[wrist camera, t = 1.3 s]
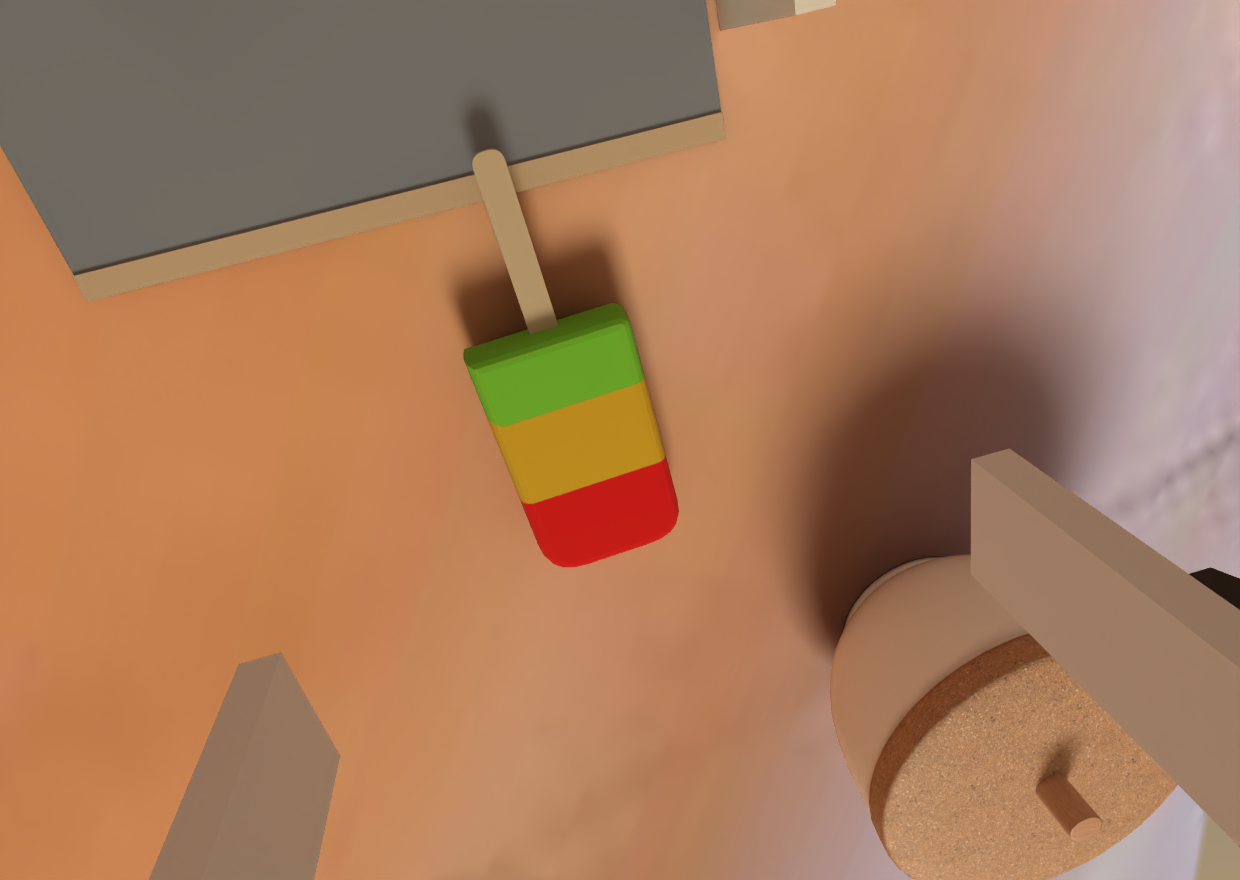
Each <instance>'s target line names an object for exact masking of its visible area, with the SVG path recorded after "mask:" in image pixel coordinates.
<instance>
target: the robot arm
mask: <svg viewBox="0 0 1240 880" xmlns="http://www.w3.org/2000/svg"><path fill="white" fill-rule="evenodd" d="M971 575H972V576H973V577H974V578H975V579H976V580H977V581H978V582H979V583H980V584H981V585H982V586H983V587H984V588H985V589H986V590H987V591H988V592H989V593H990V594H991V595H992V596H993V597H994V598H995V599H996V600H997V601H998V602H999V603H1000V604H1001V605H1002V606H1003V607H1004V608H1005V609H1006V610H1007V611H1008V612H1009V613H1010V614H1011V615H1012V616H1013V617H1014V619H1015V620H1016V621H1017V622H1018V623H1019V624H1020V625H1021V626H1022V627H1023V628H1024V629H1025V630H1026V631H1027V632H1028V633H1029V634H1030V635H1031V636H1032V637H1033V638H1034V639H1035V640H1036V641H1037V642H1038V643H1039V644H1040V645H1041V646H1042V647H1043V648H1044V649H1045V650H1046V651H1047V652H1048V653H1049V654H1050V655H1051V656H1052V657H1053V658H1054V659H1055V660H1056V661H1057V662H1058V663H1059V664H1060V665H1061V666H1062V667H1063V668H1064V669H1065V670H1066V671H1067V672H1068V673H1069V674H1070V675H1071V676H1072V677H1073V678H1074V679H1075V680H1076V681H1077V682H1078V683H1079V684H1080V686H1081V687H1082V688H1083V689H1084V690H1085V691H1086V692H1087V693H1088V694H1089V695H1090V696H1091V697H1092V698H1093V699H1094V700H1095V701H1096V702H1097V703H1098V704H1099V705H1100V706H1101V707H1102V708H1103V709H1104V710H1105V711H1106V712H1107V713H1108V714H1109V715H1110V716H1111V717H1112V718H1113V719H1114V720H1115V721H1116V722H1117V723H1118V724H1119V725H1120V726H1121V727H1122V728H1123V729H1124V730H1125V731H1126V732H1127V733H1128V734H1129V735H1130V736H1131V737H1132V738H1133V739H1134V740H1135V741H1136V742H1137V743H1138V744H1139V745H1140V746H1141V747H1142V748H1143V749H1144V750H1145V752H1146V753H1147V754H1148V755H1149V756H1150V757H1151V758H1152V759H1153V760H1154V761H1155V762H1156V763H1157V764H1158V765H1159V766H1160V767H1161V768H1162V769H1163V770H1164V771H1165V772H1166V773H1167V774H1168V775H1169V776H1170V777H1171V778H1172V779H1173V780H1174V781H1175V782H1176V783H1177V784H1178V785H1179V786H1180V787H1181V788H1182V789H1183V790H1184V791H1185V792H1186V793H1187V794H1188V795H1189V796H1190V797H1191V798H1192V799H1193V800H1194V801H1195V802H1196V803H1197V804H1198V805H1199V806H1200V807H1201V808H1202V809H1203V810H1204V811H1205V812H1206V813H1207V814H1208V815H1209V816H1210V817H1211V818H1212V819H1213V821H1214V822H1215V823H1216V824H1217V825H1218V826H1219V827H1220V828H1221V829H1222V830H1223V831H1225V833H1227V835H1228V836H1229V837H1230V838H1231V839H1232V840H1233V841H1234V842H1235V843H1236V844H1238V846H1239V847H1240V579H1239V578H1237V577H1234V576H1232V575H1229V574H1226V573H1224V572H1221V571H1218V570H1216V569H1213V568H1207V569H1204V570H1201V571H1197V572H1194V573H1190V574H1188V573H1186V572H1185V571H1183V570H1182V569H1181V568H1179V567H1178V566H1176V565H1175V564H1173V563H1172V562H1171V561H1169V560H1168V559H1166V558H1165V557H1163V556H1162V555H1161V554H1159V553H1158V552H1156V551H1155V550H1154V549H1152V548H1151V547H1149V546H1148V545H1146V544H1145V543H1144V542H1142V541H1141V540H1139V539H1138V538H1136V537H1135V536H1134V535H1132V534H1131V533H1129V532H1128V531H1126V530H1125V529H1124V528H1122V527H1121V526H1119V525H1118V524H1116V523H1115V522H1114V521H1112V520H1111V519H1109V518H1108V517H1106V516H1105V515H1104V514H1102V513H1101V512H1099V511H1098V510H1096V509H1095V508H1094V507H1092V506H1091V505H1089V504H1088V503H1087V502H1085V501H1084V500H1082V499H1081V498H1079V497H1078V496H1077V495H1075V494H1074V493H1072V492H1071V491H1069V490H1068V489H1067V488H1065V487H1064V486H1062V485H1061V484H1059V483H1058V482H1057V481H1055V480H1054V479H1052V478H1051V477H1049V476H1048V475H1047V474H1045V473H1044V472H1042V471H1041V470H1039V469H1038V468H1037V467H1035V466H1034V465H1032V464H1031V463H1030V462H1028V461H1027V460H1025V459H1024V458H1022V457H1021V456H1020V455H1018V454H1017V453H1015V452H1014V451H1012V450H1011V449H1010V448H1009V449H1005V450H1002V451H998V452H995V453H991V454H988V455H984V456H980V457H977V458H973V459H971ZM339 759H340V755H339V753H338V751H337V750H336V748H335V746H334V744H333V743H332V741H331V739H330V737H329V735H328V734H327V732H326V730H325V728H324V727H323V725H322V723H321V721H320V720H319V718H318V716H317V714H316V713H315V711H314V709H313V707H312V706H311V704H310V702H309V700H308V699H307V697H306V695H305V693H304V692H303V690H302V688H301V686H300V685H299V683H298V681H297V679H296V678H295V676H294V674H293V672H292V670H291V669H290V667H289V665H288V663H287V662H286V660H285V658H284V656H283V655H282V653H277V654H274V655H270V656H266V657H263V658H259V659H256V660H252V661H249V662H245V663H241V664H239V665H238V667H237V670H236V672H235V675H234V677H233V679H232V682H231V684H230V687H229V689H228V691H227V694H226V696H225V699H224V701H223V703H222V706H221V708H220V711H219V713H218V715H217V718H216V720H215V722H214V725H213V727H212V730H211V732H210V734H209V737H208V739H207V742H206V744H205V746H204V749H203V751H202V754H201V756H200V758H199V761H198V763H197V766H196V768H195V770H194V773H193V775H192V777H191V780H190V782H189V785H188V787H187V789H186V792H185V794H184V797H183V799H182V801H181V804H180V806H179V809H178V811H177V813H176V816H175V818H174V821H173V823H172V825H171V828H170V830H169V832H168V835H167V837H166V840H165V842H164V844H163V847H162V849H161V852H160V854H159V856H158V859H157V861H156V864H155V866H154V868H153V871H152V873H151V876H150V878H149V880H314V877H315V872H316V867H317V863H318V858H319V853H320V849H321V844H322V839H323V834H324V830H325V825H326V820H327V815H328V811H329V806H330V801H331V797H332V792H333V787H334V782H335V778H336V773H337V768H338V764H339Z"/></svg>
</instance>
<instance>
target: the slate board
mask: <svg viewBox="0 0 1240 880" xmlns="http://www.w3.org/2000/svg"><path fill="white" fill-rule="evenodd" d="M724 139H726V136H725V129H724V122H723V115H722V112H721V107H720V100H719V93H718V86H717V79H716V72H715V65H714V58H713V51H712V43H711V36H710V29H709V22H708V15H707V8H706V1H705V0H0V145H1V147H2V149H3V151H4V153H5V154H6V156H7V158H8V160H9V161H10V163H11V165H12V167H13V168H14V170H15V172H16V174H17V176H18V177H19V179H20V181H21V183H22V184H23V186H24V188H25V190H26V191H27V193H28V195H29V197H30V199H31V200H32V202H33V204H34V206H35V207H36V209H37V211H38V213H39V214H40V216H41V218H42V220H43V222H44V223H45V225H46V227H47V229H48V230H49V232H50V234H51V236H52V237H53V239H54V241H55V243H56V245H57V246H58V248H59V250H60V252H61V253H62V255H63V257H64V259H65V260H66V262H67V264H68V266H69V268H70V269H71V271H72V273H73V275H74V276H73V278H74V280H75V282H76V284H77V285H78V287H79V289H80V291H81V292H82V294H83V296H84V298H85V299H86V301H87V302H90V301H94V300H98V299H102V298H106V297H109V296H113V295H117V294H121V293H125V292H129V291H133V290H137V289H141V288H145V287H149V286H153V285H156V284H160V283H164V282H168V281H172V280H176V279H180V278H184V277H188V276H192V275H196V274H200V273H203V272H207V271H211V270H215V269H219V268H223V267H227V266H231V265H235V264H239V263H243V262H247V261H250V260H254V259H258V258H262V257H266V256H270V255H274V254H278V253H282V252H286V251H290V250H294V249H298V248H301V247H305V246H309V245H313V244H317V243H321V242H325V241H329V240H333V239H337V238H341V237H345V236H348V235H352V234H356V233H360V232H364V231H368V230H372V229H376V228H380V227H384V226H388V225H392V224H395V223H399V222H403V221H407V220H411V219H415V218H419V217H423V216H427V215H431V214H435V213H439V212H442V211H446V210H450V209H454V208H458V207H462V206H466V205H470V204H474V203H478V202H482V201H484V200H483V197H482V194H481V191H480V188H479V185H478V182H477V179H476V177H475V174H474V171H473V166H472V159H473V157H474V155H475V154H477V153H478V152H480V151H482V150H485V149H490V148H493V149H497V150H499V151H500V152H501V153H502V154H503V156H504V158H505V161H506V164H507V167H508V170H509V173H510V176H511V179H512V182H513V186H514V189H515V192H516V193H517V192H521V191H525V190H529V189H533V188H536V187H540V186H544V185H548V184H552V183H556V182H560V181H564V180H568V179H572V178H576V177H580V176H583V175H587V174H591V173H595V172H599V171H603V170H607V169H611V168H615V167H619V166H623V165H627V164H630V163H634V162H638V161H642V160H646V159H650V158H654V157H658V156H662V155H666V154H670V153H674V152H677V151H681V150H685V149H689V148H693V147H697V146H701V145H705V144H709V143H713V142H717V141H721V140H724Z"/></svg>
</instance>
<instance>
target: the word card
mask: <svg viewBox="0 0 1240 880" xmlns="http://www.w3.org/2000/svg"><path fill="white" fill-rule="evenodd" d="M716 4H717V11H718V19H719V26H720V31H721V30H726V29H730V28H735V27H740V26H745V25H750V24H755V23H760V22H765V21H770V20H775V19H780V18H784V17H789V16H794V15H799V14H803V13H807V12H811V11H815V10H819V9H823V8H827V7H831V6H835V5H836V0H716Z"/></svg>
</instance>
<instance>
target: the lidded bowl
mask: <svg viewBox="0 0 1240 880" xmlns="http://www.w3.org/2000/svg"><path fill="white" fill-rule="evenodd" d="M830 702H831V711H832V717H833V722H834V726H835V730H836V734H837V738H838V742H839V745H840V748H841V751H842V753H843V756H844V759H845V761H846V764H847V767H848V769H849V771H850V774H851V776H852V778H853V780H854V783H855V785H856V787H857V789H858V791H859V793H860V795H861V797H862V799H863V801H864V803H865V805H866V807H867V809H868V810H869V812H870V814H871V819H872V822H873V824H874V827H875V829H876V831H877V833H878V836H879V838H880V840H881V842H882V844H883V846H884V848H885V850H886V851H887V853H888V855H889V857H890V858H891V859H892V861H893V862H894V863H895V864H896V866H897V867H898V868H899V869H900V870H901V871H903V872H904V873H905V874H907V875H908V876H909V877H911V878H912V879H914V880H1047V879H1050V878H1053V877H1056V876H1058V875H1060V874H1062V873H1065V872H1067V871H1069V870H1071V869H1073V868H1075V867H1078V866H1080V865H1081V864H1083V863H1085V862H1087V861H1089V860H1090V859H1092V858H1094V857H1096V856H1098V855H1100V854H1101V853H1103V852H1104V851H1106V850H1107V849H1109V848H1110V847H1112V846H1113V845H1114V844H1116V843H1117V842H1119V841H1120V840H1122V839H1123V838H1124V837H1126V836H1127V835H1128V834H1129V833H1131V832H1132V831H1133V830H1134V829H1136V828H1137V827H1138V826H1140V825H1141V824H1142V823H1143V822H1144V821H1145V820H1146V819H1147V818H1148V817H1149V816H1150V815H1151V814H1152V813H1153V812H1154V811H1155V810H1156V809H1157V808H1158V807H1159V806H1160V805H1161V804H1162V803H1163V802H1164V800H1165V799H1166V798H1167V797H1168V796H1169V795H1170V794H1171V792H1172V791H1173V790H1174V789H1175V787H1176V786H1177V783H1176V782H1175V781H1174V780H1173V779H1172V778H1171V777H1170V776H1169V775H1168V774H1167V773H1166V772H1165V771H1164V770H1163V769H1162V768H1161V767H1160V766H1159V765H1158V764H1157V763H1156V762H1155V761H1154V760H1153V759H1152V758H1151V757H1150V756H1149V755H1148V754H1147V753H1146V752H1145V750H1144V749H1143V748H1142V747H1141V746H1140V745H1139V744H1138V743H1137V742H1136V741H1135V740H1134V739H1133V738H1132V737H1131V736H1130V735H1129V734H1128V733H1127V732H1126V731H1125V730H1124V729H1123V728H1122V727H1121V726H1120V725H1119V724H1118V723H1117V722H1116V721H1115V720H1114V719H1113V718H1112V717H1111V716H1110V715H1109V714H1108V713H1107V712H1106V711H1105V710H1104V709H1103V708H1102V707H1101V706H1100V705H1099V704H1098V703H1097V702H1096V701H1095V700H1094V699H1093V698H1092V697H1091V696H1090V695H1089V694H1088V693H1087V692H1086V691H1085V690H1084V689H1083V688H1082V687H1081V686H1080V684H1079V683H1078V682H1077V681H1076V680H1075V679H1074V678H1073V677H1072V676H1071V675H1070V674H1069V673H1068V672H1067V671H1066V670H1065V669H1064V668H1063V667H1062V666H1061V665H1060V664H1059V663H1058V662H1057V661H1056V660H1055V659H1054V658H1053V657H1052V656H1051V655H1050V654H1049V653H1048V652H1047V651H1046V650H1045V649H1044V648H1043V647H1042V646H1041V645H1040V644H1039V643H1038V642H1037V641H1036V640H1035V639H1034V638H1033V637H1032V636H1031V635H1030V634H1029V633H1028V632H1027V631H1026V630H1025V629H1024V628H1023V627H1022V626H1021V625H1020V624H1019V623H1018V622H1017V621H1016V620H1015V619H1014V617H1013V616H1012V615H1011V614H1010V613H1009V612H1008V611H1007V610H1006V609H1005V608H1004V607H1003V606H1002V605H1001V604H1000V603H999V602H998V601H997V600H996V599H995V598H994V597H993V596H992V595H991V594H990V593H989V592H988V591H987V590H986V589H985V588H984V587H983V586H982V585H981V584H980V583H979V582H978V581H977V580H976V579H975V578H974V577H973V576H972V575H971V554H968V555H954V556H947V557H928V558H922V559H917V560H914V561H911V562H908V563H905V564H902V565H900V566H898V567H896V568H894V569H892V570H890V571H889V572H887V573H885V574H884V575H882V576H881V577H879V578H878V579H877V580H876V581H874V582H873V583H872V584H871V585H870V586H869V587H868V588H867V589H866V590H865V591H864V592H863V593H862V594H861V595H860V597H859V598H858V599H857V601H856V602H855V603H854V605H853V607H852V609H851V610H850V612H849V614H848V617H847V619H846V622H845V626H844V630H843V633H842V635H841V637H840V640H839V642H838V645H837V647H836V650H835V654H834V658H833V663H832V669H831V675H830Z"/></svg>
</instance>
